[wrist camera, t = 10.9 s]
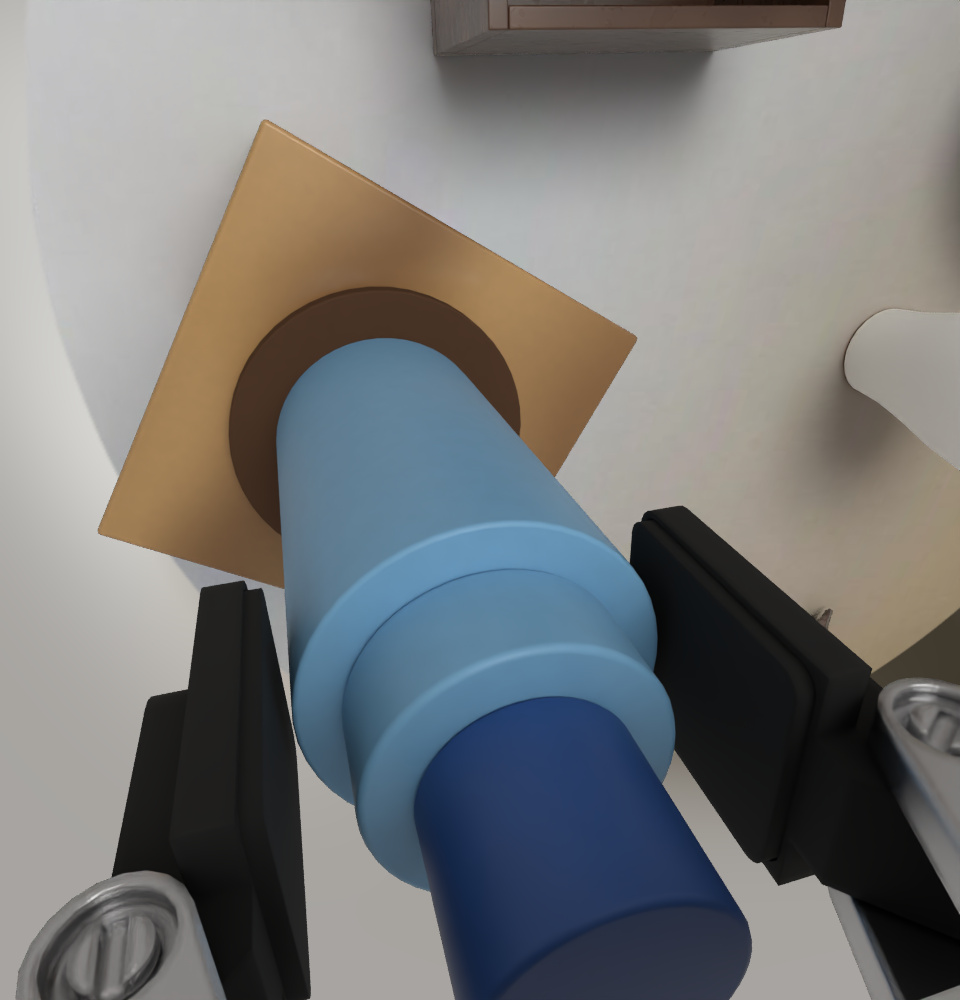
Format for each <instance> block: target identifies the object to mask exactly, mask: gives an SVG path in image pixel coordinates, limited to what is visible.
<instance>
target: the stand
mask: <svg viewBox="0 0 960 1000" xmlns="http://www.w3.org/2000/svg"><path fill="white" fill-rule="evenodd" d="M362 287H395V288H402V289H408V290H413V291H416V292H419V293H423V294H426V295H429V296H432V297H434V298H436V299H438V300H441V301H443V302H445V303H447V304H449V305H450V306H452V307H454V308H455V309H457V310H458V311H460V312H462V313H463V314H464V315H465V316H467V317H468V318H469V319H470V320H471V321H473V322H474V323H475V324H476V325H477V326H479V327H480V328H481V329H482V330H483V331H484V332H485V333H486V335H487V336H488V337H489V338H490V339H491V340H492V341H493V342H494V344H495V345H496V347H497V348H498V350H499V351H500V353H501V354H502V356H503V357H504V359H505V361H506V363H507V365H508V367H509V369H510V371H511V373H512V376H513V379H514V383H515V386H516V389H517V393H518V399H519V404H520V418H521V427H520V438H521V439H522V440H523V442H524V443H525V444H526V445H527V446H528V447H529V449H530V450H531V451H532V452H533V453H534V454H535V455H536V457H537V458H538V459H539V460H540V461H541V462H542V463H543V465H544V466H545V467H546V468H547V469H548V470H549V472H550V473H551V474H552V475H553V476H554V477H555V476H556V474H557V473H558V471H559V469H560V468H561V466H562V464H563V463H564V461H565V459H566V458H567V456H568V454H569V453H570V451H571V449H572V448H573V446H574V444H575V443H576V441H577V439H578V438H579V436H580V434H581V433H582V431H583V429H584V428H585V426H586V424H587V423H588V421H589V419H590V418H591V416H592V414H593V413H594V411H595V409H596V408H597V406H598V404H599V403H600V401H601V399H602V398H603V396H604V394H605V393H606V391H607V389H608V388H609V386H610V384H611V383H612V381H613V379H614V378H615V376H616V374H617V373H618V371H619V369H620V368H621V366H622V364H623V363H624V361H625V359H626V358H627V356H628V354H629V353H630V351H631V349H632V348H633V346H634V344H635V343H636V341H637V337H636V336H635V335H634V334H632V333H630V332H629V331H627V330H625V329H623V328H622V327H620V326H618V325H617V324H615V323H613V322H611V321H610V320H608V319H606V318H605V317H603V316H601V315H600V314H598V313H596V312H594V311H593V310H591V309H589V308H588V307H586V306H584V305H583V304H581V303H579V302H577V301H576V300H574V299H572V298H571V297H569V296H567V295H565V294H564V293H562V292H560V291H559V290H557V289H555V288H554V287H552V286H550V285H548V284H547V283H545V282H543V281H542V280H540V279H538V278H536V277H535V276H533V275H531V274H530V273H528V272H526V271H525V270H523V269H521V268H519V267H518V266H516V265H514V264H513V263H511V262H509V261H507V260H506V259H504V258H502V257H501V256H499V255H497V254H496V253H494V252H492V251H490V250H489V249H487V248H485V247H484V246H482V245H480V244H478V243H477V242H475V241H473V240H472V239H470V238H468V237H467V236H465V235H463V234H461V233H460V232H458V231H456V230H455V229H453V228H451V227H449V226H448V225H446V224H444V223H443V222H441V221H439V220H438V219H436V218H434V217H432V216H431V215H429V214H427V213H426V212H424V211H422V210H421V209H419V208H417V207H415V206H414V205H412V204H410V203H409V202H407V201H405V200H403V199H402V198H400V197H398V196H397V195H395V194H393V193H392V192H390V191H388V190H386V189H385V188H383V187H381V186H380V185H378V184H376V183H374V182H373V181H371V180H369V179H368V178H366V177H364V176H363V175H361V174H359V173H357V172H356V171H354V170H352V169H351V168H349V167H347V166H345V165H344V164H342V163H340V162H339V161H337V160H335V159H334V158H332V157H330V156H328V155H327V154H325V153H323V152H322V151H320V150H318V149H316V148H315V147H313V146H311V145H310V144H308V143H306V142H305V141H303V140H301V139H299V138H298V137H296V136H294V135H293V134H291V133H289V132H288V131H286V130H284V129H282V128H281V127H279V126H277V125H276V124H274V123H272V122H270V121H269V120H263V121H262V122H261V124H260V126H259V129H258V131H257V134H256V136H255V139H254V141H253V144H252V146H251V149H250V151H249V154H248V156H247V159H246V161H245V164H244V166H243V169H242V171H241V174H240V176H239V179H238V181H237V184H236V186H235V189H234V191H233V194H232V196H231V199H230V201H229V204H228V206H227V209H226V211H225V214H224V216H223V219H222V221H221V224H220V226H219V229H218V231H217V234H216V236H215V239H214V241H213V244H212V246H211V249H210V251H209V253H208V256H207V258H206V261H205V263H204V266H203V268H202V271H201V273H200V276H199V278H198V281H197V283H196V286H195V288H194V291H193V293H192V296H191V298H190V301H189V303H188V306H187V308H186V311H185V313H184V316H183V318H182V321H181V323H180V326H179V328H178V331H177V333H176V336H175V338H174V341H173V343H172V346H171V348H170V351H169V353H168V356H167V358H166V361H165V363H164V366H163V368H162V371H161V373H160V376H159V378H158V381H157V383H156V386H155V388H154V391H153V393H152V396H151V398H150V401H149V403H148V406H147V408H146V411H145V413H144V416H143V418H142V420H141V423H140V425H139V428H138V430H137V433H136V435H135V438H134V440H133V443H132V445H131V448H130V450H129V453H128V455H127V458H126V460H125V463H124V465H123V468H122V470H121V473H120V475H119V478H118V480H117V483H116V485H115V488H114V491H113V493H112V495H111V498H110V500H109V503H108V505H107V508H106V510H105V513H104V515H103V518H102V520H101V523H100V525H99V528H98V533H99V534H100V535H104V536H107V537H110V538H114V539H117V540H121V541H124V542H127V543H130V544H134V545H137V546H141V547H144V548H147V549H151V550H154V551H158V552H161V553H164V554H168V555H171V556H174V557H178V558H181V559H184V560H188V561H191V562H195V563H198V564H201V565H205V566H208V567H211V568H215V569H218V570H222V571H225V572H228V573H232V574H235V575H238V576H242V577H245V578H249V579H252V580H255V581H259V582H262V583H265V584H269V585H272V586H276V587H279V588H282V589H285V586H284V569H283V551H282V536H281V535H280V534H278V533H277V532H276V531H275V530H273V529H272V528H271V527H270V526H269V525H268V524H267V523H266V522H265V521H264V520H263V519H262V518H261V517H260V515H259V514H258V513H257V512H256V510H255V509H254V508H253V507H252V505H251V504H250V502H249V500H248V499H247V497H246V495H245V494H244V492H243V490H242V488H241V486H240V483H239V481H238V479H237V476H236V474H235V471H234V467H233V463H232V459H231V455H230V446H229V416H230V409H231V403H232V398H233V393H234V390H235V387H236V384H237V382H238V379H239V376H240V373H241V372H242V370H243V368H244V366H245V364H246V362H247V360H248V358H249V356H250V355H251V354H252V352H253V351H254V349H255V348H256V347H257V345H258V344H259V343H260V341H261V340H262V339H263V338H264V337H265V336H266V335H267V334H268V333H269V332H270V331H271V330H272V328H273V327H274V326H275V325H277V324H278V323H279V322H280V321H282V320H283V319H284V318H286V317H287V316H288V315H289V314H291V313H292V312H294V311H296V310H297V309H299V308H301V307H302V306H304V305H306V304H308V303H309V302H312V301H314V300H316V299H319V298H321V297H324V296H326V295H328V294H332V293H336V292H340V291H343V290H347V289H353V288H362Z"/></svg>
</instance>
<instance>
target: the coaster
mask: <svg viewBox="0 0 960 1000" xmlns="http://www.w3.org/2000/svg"><path fill="white" fill-rule="evenodd" d="M376 338H395V339H403V340H408V341H412V342H416V343H420V344H422V345H425V346H427V347H429V348H432V349H434V350H436V351H437V352H439V353H441V354H442V355H444V356H445V357H447V358H448V359H449V360H451V361H452V362H453V363H454V364H455V365H456V366H457V367H458V368H459V369H460V370H461V371H462V372H463V373H464V374H465V375H466V376H467V377H468V378H469V380H470V381H471V382H472V383H473V384H474V385H475V387H476V388H477V389H478V390H479V391H480V392H481V393H482V395H483V396H484V397H485V398H486V399H487V400H488V401H489V403H490V404H491V405H492V406H493V407H494V408H495V409H496V411H497V412H498V413H499V414H500V415H501V416H502V418H503V419H504V420H505V421H506V422H507V423H508V424H509V426H510V427H511V428H512V429H513V430H514V431H515V432H516V434H517V435H518V436H519V437H520V427H521V418H520V404H519V399H518V393H517V389H516V386H515V383H514V379H513V376H512V373H511V371H510V369H509V367H508V365H507V363H506V361H505V359H504V357H503V356H502V354H501V353H500V351H499V350H498V348H497V347H496V345H495V344H494V342H493V341H492V340H491V339H490V338H489V337H488V336H487V335H486V333H485V332H484V331H483V330H482V329H481V328H480V327H479V326H477V325H476V324H475V323H474V322H473V321H471V320H470V319H469V318H468V317H467V316H465V315H464V314H463V313H462V312H460V311H458V310H457V309H455V308H454V307H452V306H450V305H449V304H447V303H445V302H443V301H441V300H438V299H436V298H434V297H432V296H429V295H426V294H423V293H419V292H416V291H413V290H408V289H402V288H395V287H362V288H353V289H347V290H343V291H340V292H336V293H332V294H328V295H326V296H324V297H321V298H319V299H316V300H314V301H312V302H309V303H308V304H306V305H304V306H302V307H301V308H299V309H297V310H296V311H294V312H292V313H291V314H289V315H288V316H287V317H286V318H284V319H283V320H282V321H280V322H279V323H278V324H277V325H275V326H274V327H273V328H272V330H271V331H270V332H269V333H268V334H267V335H266V336H265V337H264V338H263V339H262V340H261V341H260V343H259V344H258V345H257V347H256V348H255V349H254V351H253V352H252V354H251V355H250V356H249V358H248V360H247V362H246V364H245V366H244V368H243V370H242V372H241V373H240V376H239V379H238V382H237V384H236V387H235V390H234V393H233V398H232V403H231V409H230V416H229V446H230V455H231V459H232V463H233V467H234V471H235V474H236V476H237V479H238V481H239V483H240V486H241V488H242V490H243V492H244V494H245V495H246V497H247V499H248V500H249V502H250V504H251V505H252V507H253V508H254V509H255V510H256V512H257V513H258V514H259V515H260V517H261V518H262V519H263V520H264V521H265V522H266V523H267V524H268V525H269V526H270V527H271V528H272V529H273V530H275V531H276V532H277V533H278V534H280V535H281V536H282V534H281V517H280V499H279V482H278V465H277V448H276V435H277V425H278V421H279V416H280V412H281V410H282V407H283V404H284V402H285V400H286V398H287V396H288V394H289V392H290V391H291V389H292V387H293V386H294V385H295V383H296V382H297V381H298V379H299V378H300V377H301V376H302V375H303V374H304V372H305V371H306V370H307V369H308V368H309V367H310V366H312V365H313V364H314V363H316V362H317V361H318V360H319V359H321V358H322V357H324V356H325V355H327V354H329V353H330V352H332V351H334V350H336V349H338V348H341V347H343V346H345V345H348V344H351V343H355V342H358V341H362V340H368V339H376Z"/></svg>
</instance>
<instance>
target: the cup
mask: <svg viewBox="0 0 960 1000" xmlns="http://www.w3.org/2000/svg"><path fill="white" fill-rule="evenodd" d="M844 368H845V375H846V378H847V381H848V382H849V384H850V385H851V386H852V387H853V388H854V389H856V390H858V391H859V392H861V393H863V394H864V395H866V396H868V397H869V398H871V399H873V400H875V401H876V402H878V403H879V404H880V405H882V406H883V407H884V408H885V409H887V410H888V411H889V412H890V413H891V414H893V415H894V416H895V417H896V418H898V419H899V420H900V421H901V422H902V423H903V424H904V425H905V426H907V427H908V428H909V429H910V430H911V431H912V432H913V433H914V434H915V435H916V436H917V437H918V438H919V439H920V440H921V441H922V442H923V443H924V444H925V445H927V446H928V447H929V448H931V449H932V450H933V451H934V452H936V453H937V454H938V455H940V456H941V457H942V458H943V459H945V460H946V461H947V462H949V463H950V464H951V465H953V466H954V467H955V468H956V469H958V470H959V471H960V313H926V312H918V311H911V310H903V309H896V308H894V309H887V310H884V311H881V312H879V313H877V314H875V315H874V316H872V317H871V318H869V319H868V320H867V321H865V323H864V324H863V325H862V326H861V327H860V328H859V329H858V330H857V332H856V333H855V335H854V336H853V338H852V339H851V341H850V344H849V346H848V349H847V351H846V356H845V361H844Z"/></svg>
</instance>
